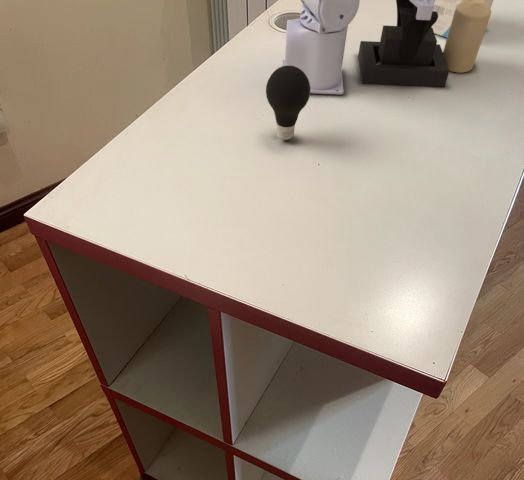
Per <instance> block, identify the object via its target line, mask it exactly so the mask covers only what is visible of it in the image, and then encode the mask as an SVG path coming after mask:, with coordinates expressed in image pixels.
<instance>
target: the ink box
mask: <svg viewBox="0 0 524 480" xmlns="http://www.w3.org/2000/svg"><path fill="white" fill-rule="evenodd" d="M462 1H464V0H436V1H435V2H434V7H433V11H435V12H437V13H438V19H437V21H436V22H435V23H434V25H433V26H432V27H431V28H433V31H434V34H435V35H436V36H437V35H438V36H441V37H443V38H446V39H447V37H448V33H449V30H450V26H451V23H452V20H453V16H454V13H455V9H456V6H457V5H458V4H460V3H461V2H462ZM485 1H486V3H487V4H488V5H489V7H490V9H491V8H492V6H493V2H494V0H485ZM491 10H492V9H491Z"/></svg>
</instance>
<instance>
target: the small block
mask: <svg viewBox="0 0 524 480" xmlns="http://www.w3.org/2000/svg"><path fill="white" fill-rule="evenodd" d="M401 36H402V26H397V25H382V30H381V34H380V39H379V40H380V41H379V42H380V45H379V50H378V52H379V57H380V61H379V62H380V64H388V65H410V66H431V62H432V58H433V55H434V51H435V47H436V44H438V39H437V37H436V34H434V31H433V28H430V29H429V31H428V32H427V34H426V36H425V37H424V39H423V41H422V43H421V45H420V47H419V50H418V52H417V54H416V56H415V57H414V59H413V60H406V59H401V58H400V46H401Z"/></svg>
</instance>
